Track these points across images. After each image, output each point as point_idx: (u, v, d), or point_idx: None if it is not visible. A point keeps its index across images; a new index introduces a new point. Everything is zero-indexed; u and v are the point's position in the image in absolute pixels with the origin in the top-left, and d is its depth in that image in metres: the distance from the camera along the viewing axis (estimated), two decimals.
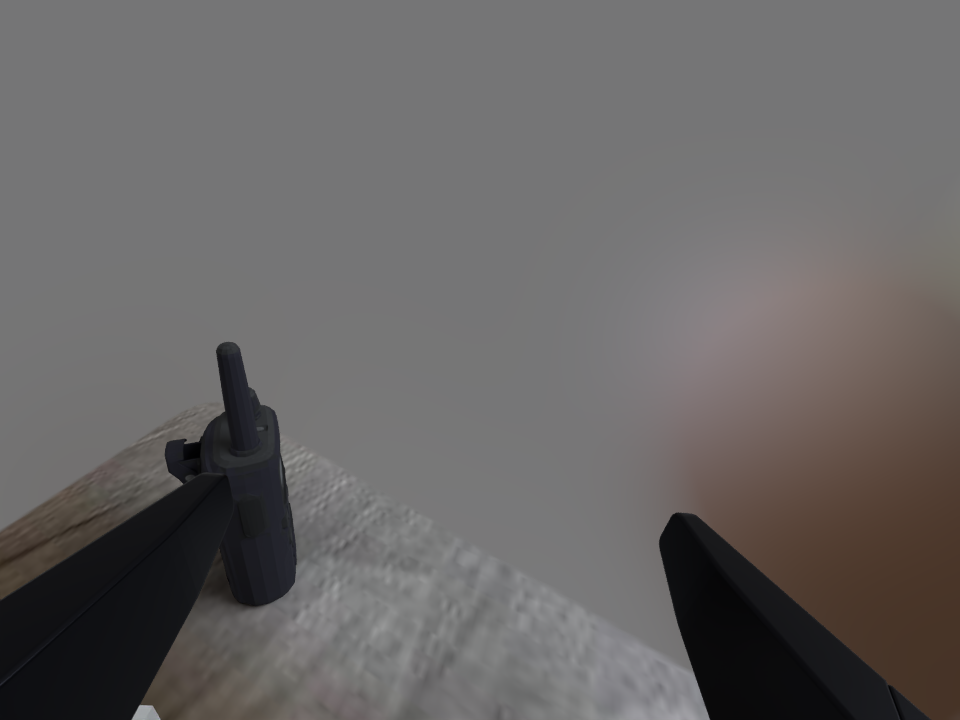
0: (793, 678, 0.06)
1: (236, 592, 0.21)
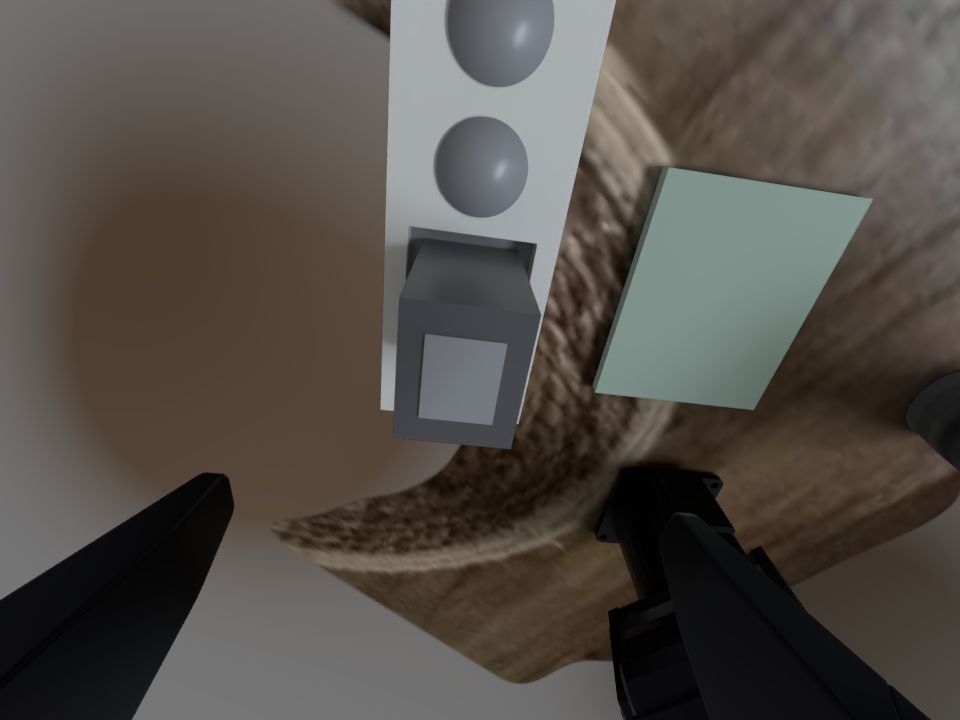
0: (793, 678, 0.06)
1: None
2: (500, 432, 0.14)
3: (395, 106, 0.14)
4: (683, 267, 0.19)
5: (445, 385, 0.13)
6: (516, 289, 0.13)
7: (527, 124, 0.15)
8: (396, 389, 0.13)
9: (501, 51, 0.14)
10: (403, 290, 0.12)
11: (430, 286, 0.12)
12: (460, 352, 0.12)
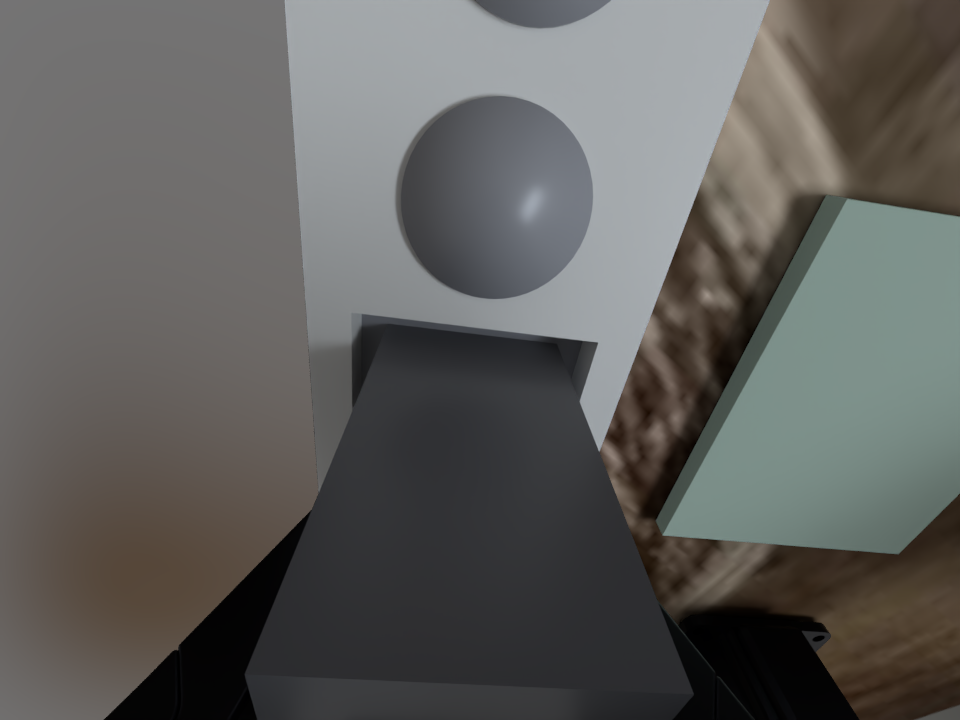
0: None
1: None
2: None
3: (305, 71, 0.06)
4: (835, 366, 0.11)
5: None
6: (587, 517, 0.05)
7: (597, 114, 0.07)
8: None
9: None
10: (277, 607, 0.04)
11: (366, 555, 0.05)
12: None
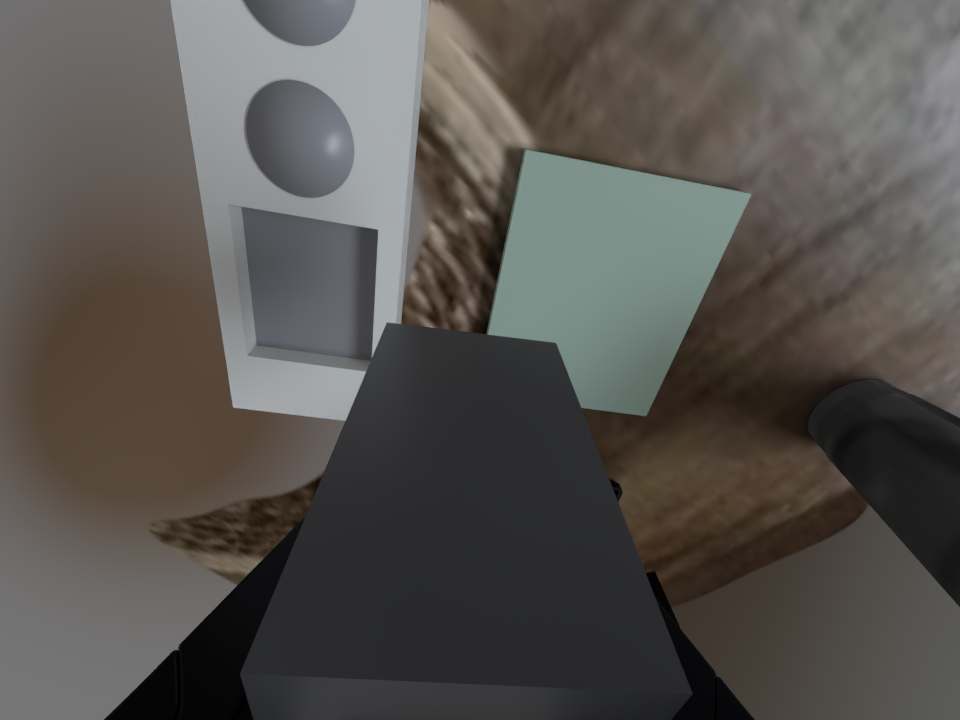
0: None
1: None
2: None
3: (188, 63, 0.12)
4: (554, 262, 0.17)
5: None
6: (585, 516, 0.05)
7: (345, 91, 0.13)
8: None
9: (299, 2, 0.12)
10: (274, 606, 0.04)
11: (363, 553, 0.05)
12: None
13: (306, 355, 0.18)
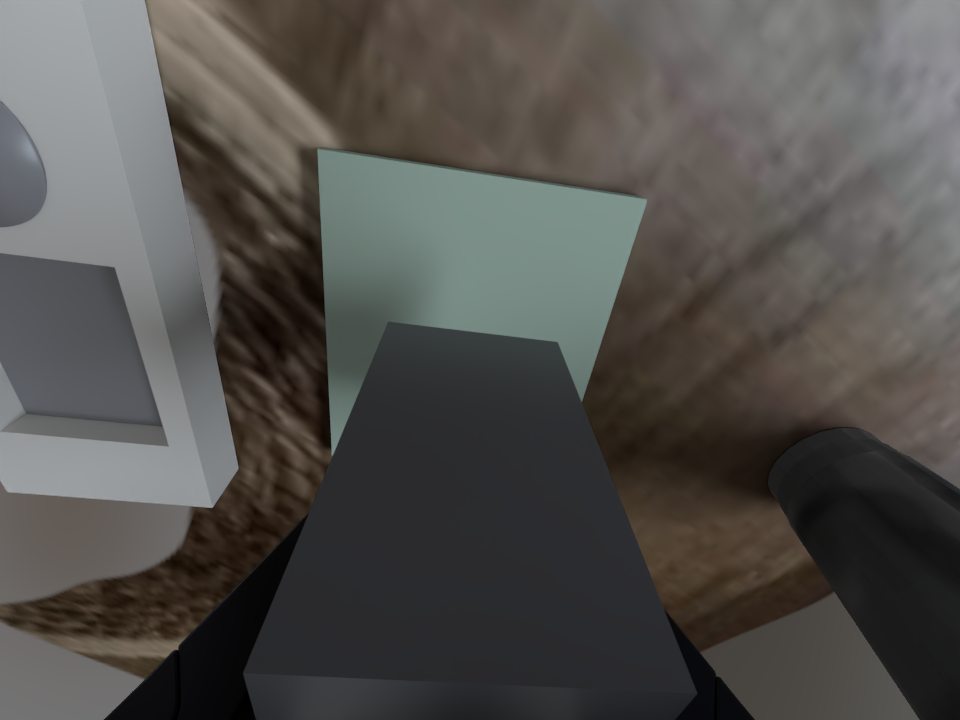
0: None
1: None
2: None
3: None
4: (393, 298, 0.13)
5: None
6: (588, 516, 0.05)
7: None
8: None
9: None
10: (277, 604, 0.04)
11: (366, 552, 0.05)
12: None
13: (89, 425, 0.14)
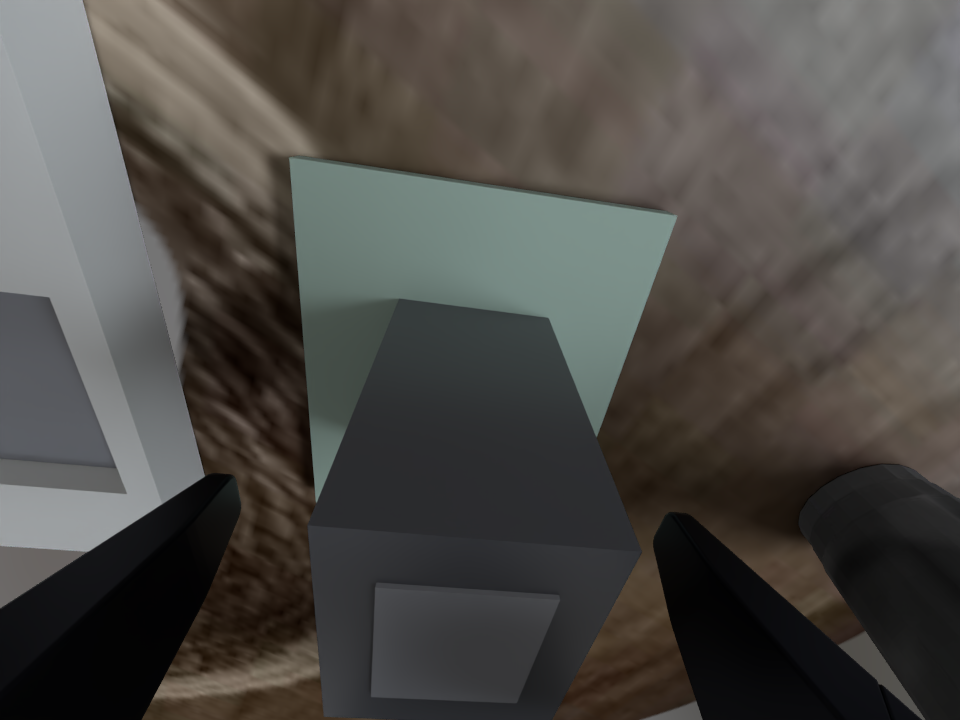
0: (784, 677, 0.06)
1: None
2: (531, 707, 0.07)
3: None
4: (382, 328, 0.11)
5: (424, 654, 0.06)
6: (567, 442, 0.07)
7: None
8: (322, 660, 0.06)
9: None
10: (326, 487, 0.05)
11: (391, 459, 0.06)
12: (455, 613, 0.06)
13: (38, 469, 0.12)
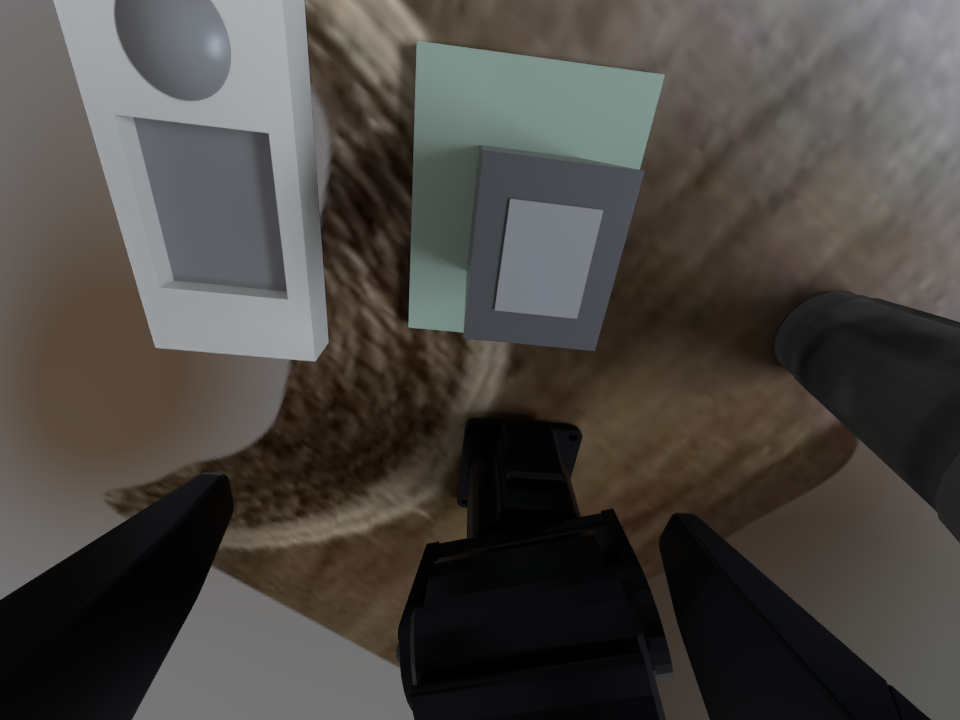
0: (793, 678, 0.06)
1: None
2: (585, 329, 0.12)
3: None
4: (466, 169, 0.16)
5: (528, 268, 0.11)
6: (602, 163, 0.12)
7: None
8: (472, 274, 0.11)
9: None
10: (484, 149, 0.10)
11: (510, 152, 0.11)
12: (548, 222, 0.11)
13: (223, 287, 0.18)
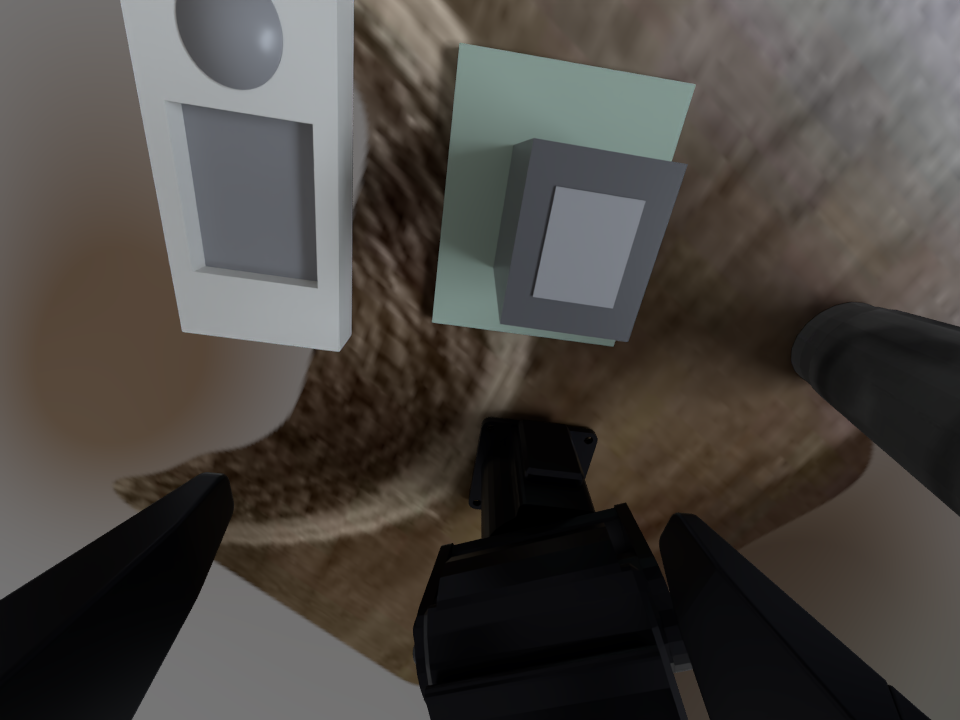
0: (793, 678, 0.06)
1: None
2: (619, 319, 0.12)
3: None
4: (499, 168, 0.17)
5: (568, 255, 0.12)
6: None
7: None
8: (513, 260, 0.12)
9: None
10: (533, 139, 0.11)
11: None
12: (591, 211, 0.11)
13: (254, 274, 0.18)
